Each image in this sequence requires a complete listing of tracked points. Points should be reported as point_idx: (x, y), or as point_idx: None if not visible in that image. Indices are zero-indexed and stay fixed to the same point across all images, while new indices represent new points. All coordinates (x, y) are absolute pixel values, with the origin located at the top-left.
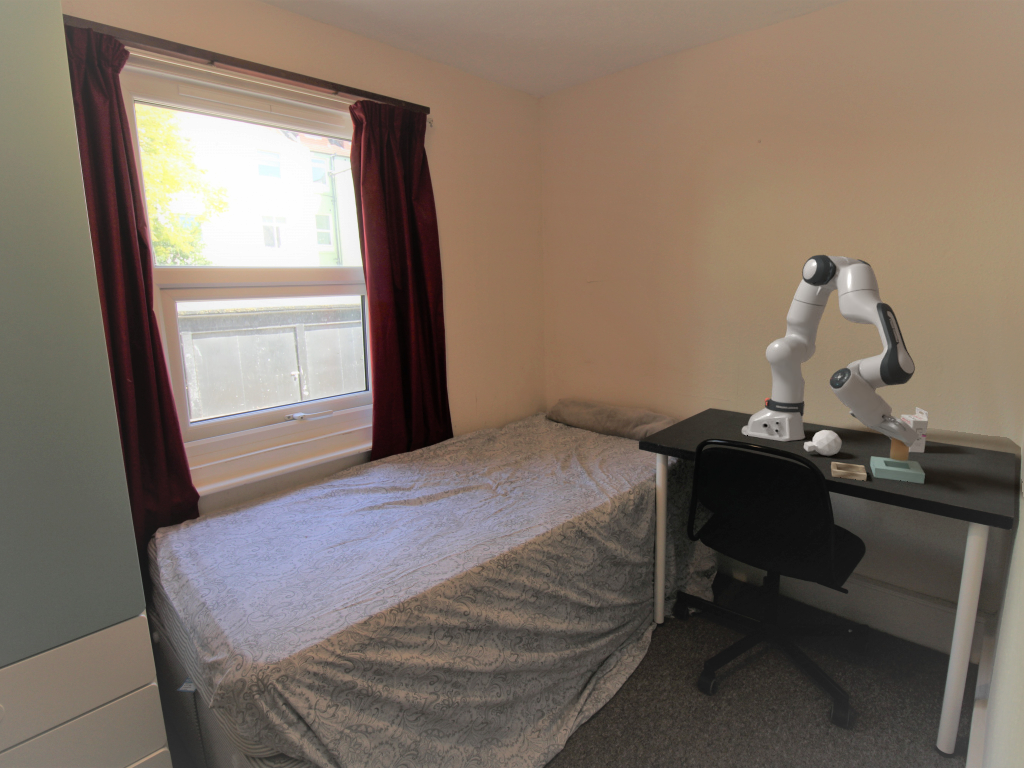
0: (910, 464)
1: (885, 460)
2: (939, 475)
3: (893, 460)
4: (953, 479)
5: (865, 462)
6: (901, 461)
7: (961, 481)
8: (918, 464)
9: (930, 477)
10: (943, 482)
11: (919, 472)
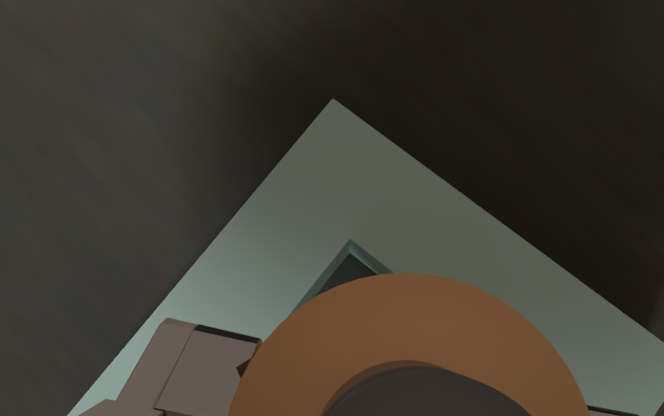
0: (395, 245)
1: None
2: (474, 48)
3: (241, 309)
4: (575, 23)
5: (21, 401)
6: (291, 254)
7: (625, 5)
8: (410, 164)
9: (504, 160)
10: (628, 161)
11: (636, 376)
